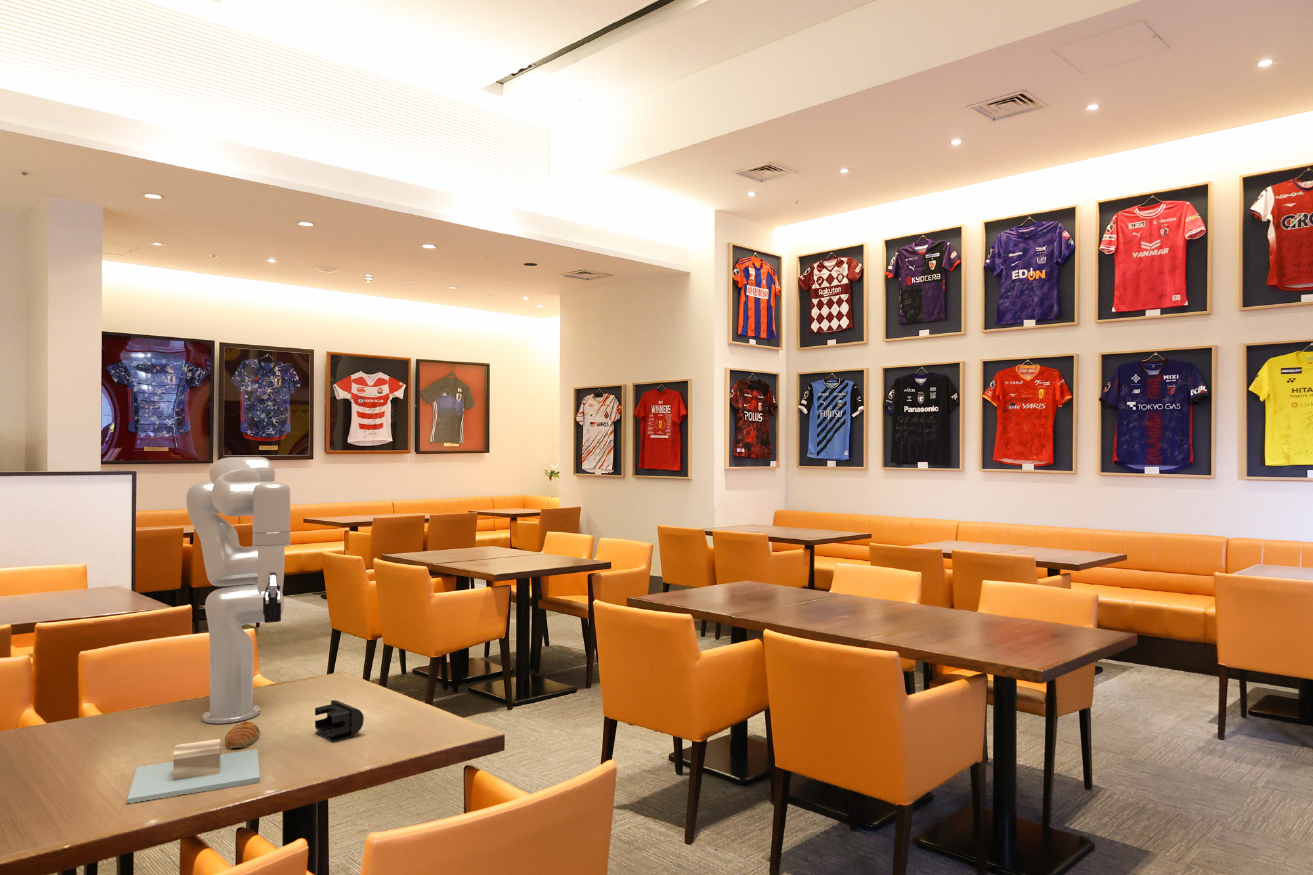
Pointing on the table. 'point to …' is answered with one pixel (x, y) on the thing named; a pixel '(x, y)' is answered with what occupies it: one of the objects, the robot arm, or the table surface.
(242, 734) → the pastry
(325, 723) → the end cap
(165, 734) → the table surface
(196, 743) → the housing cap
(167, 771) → the base plate
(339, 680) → the table surface
